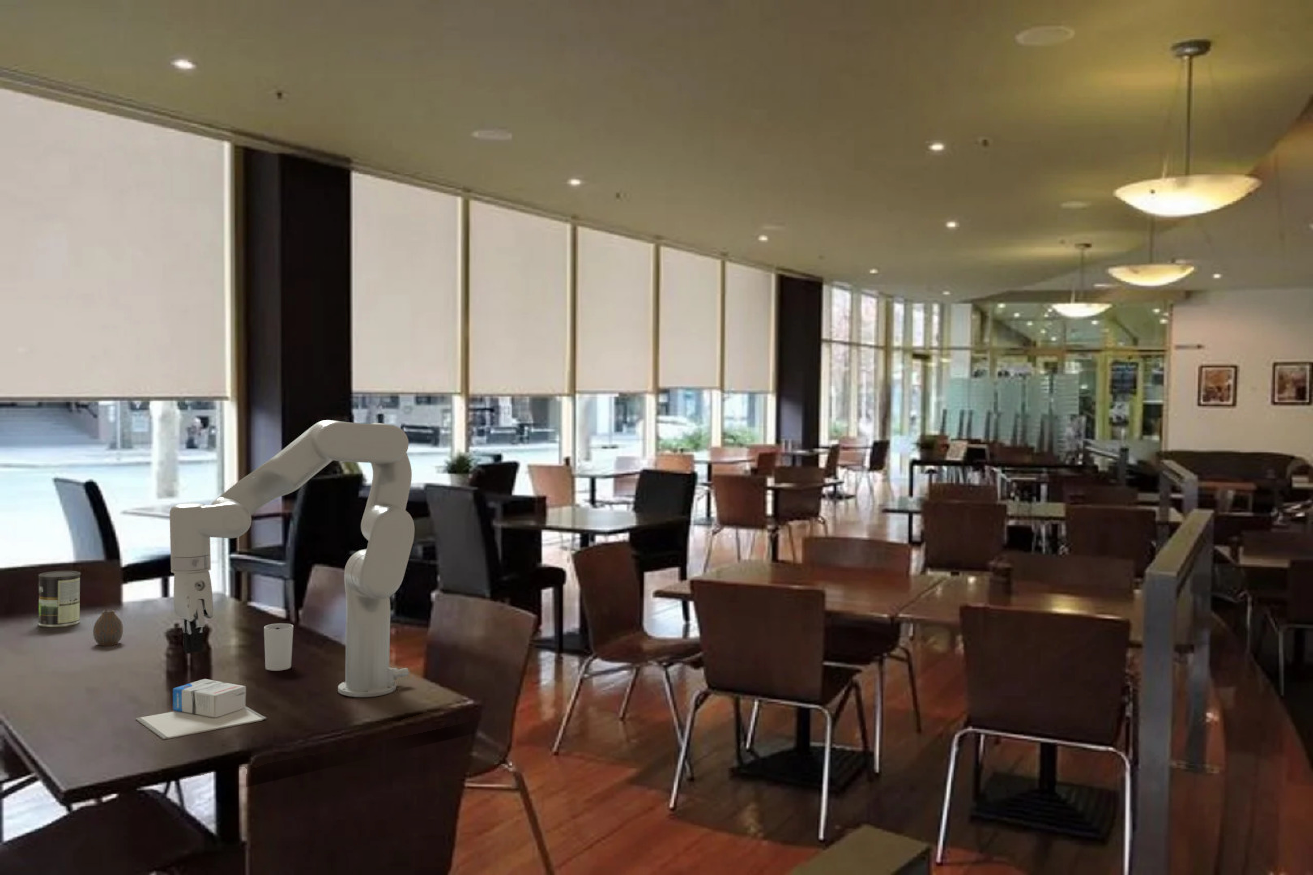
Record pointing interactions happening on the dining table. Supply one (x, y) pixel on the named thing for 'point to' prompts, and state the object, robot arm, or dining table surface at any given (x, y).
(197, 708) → the ink box
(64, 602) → the coffee can
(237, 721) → the mat
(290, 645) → the white cup
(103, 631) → the vase
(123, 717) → the dining table surface
